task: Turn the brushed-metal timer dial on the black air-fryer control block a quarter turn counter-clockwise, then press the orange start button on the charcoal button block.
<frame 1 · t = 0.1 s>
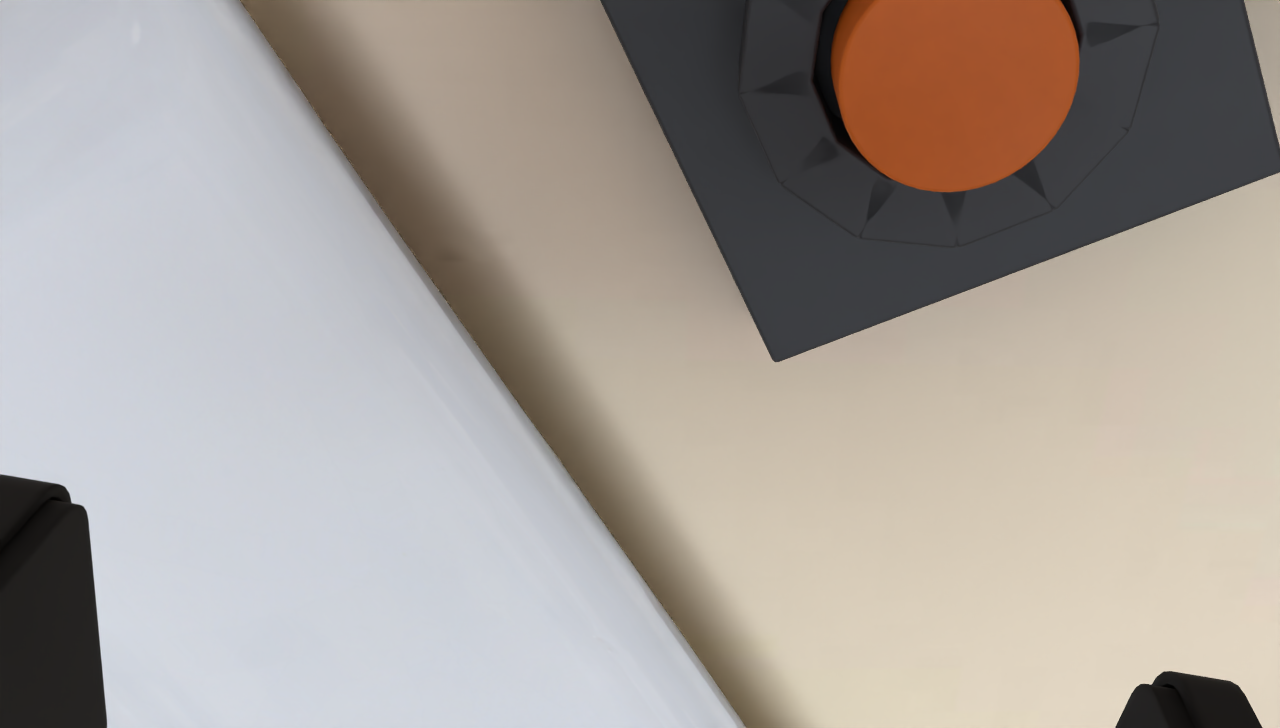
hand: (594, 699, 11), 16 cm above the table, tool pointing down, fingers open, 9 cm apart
start button: (948, 67, 19), point 4 cm above the table, slide at 0.1 cm
button block: (912, 8, 22), on the table
tray: (353, 589, 31), on the table
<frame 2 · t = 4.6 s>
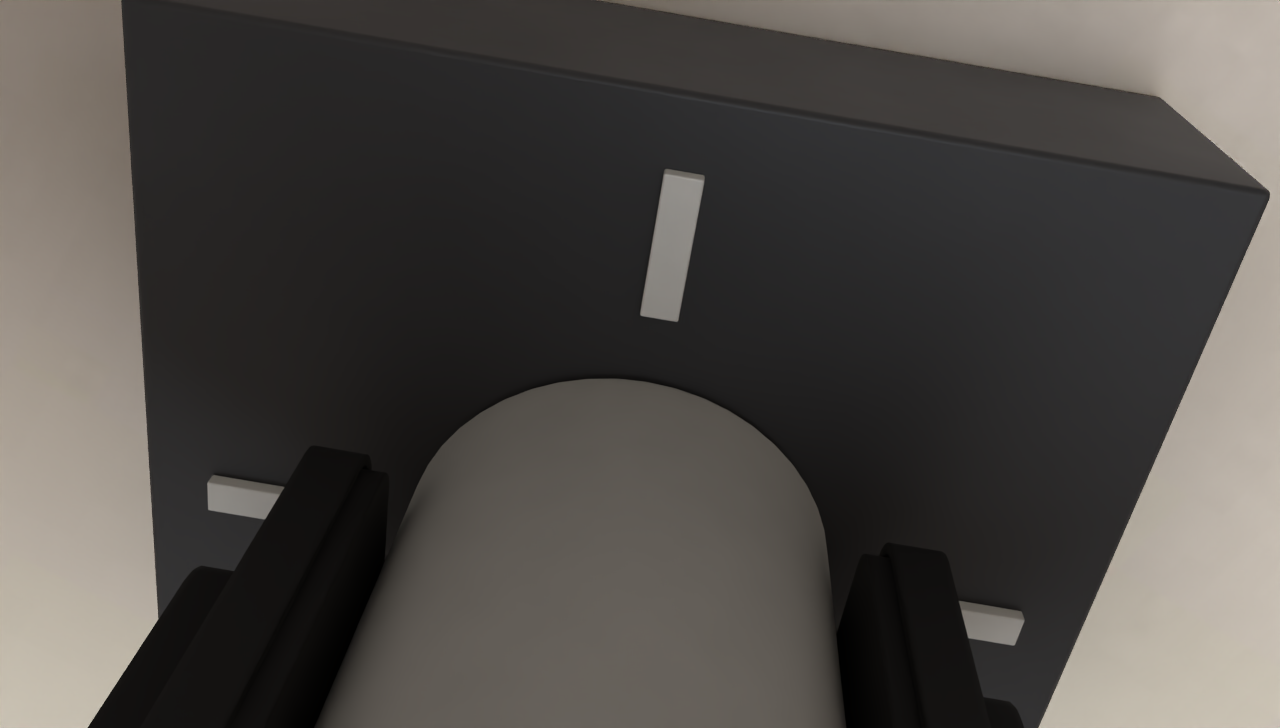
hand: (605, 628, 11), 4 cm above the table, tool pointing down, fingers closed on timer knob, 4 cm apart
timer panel: (637, 411, 15), on the table
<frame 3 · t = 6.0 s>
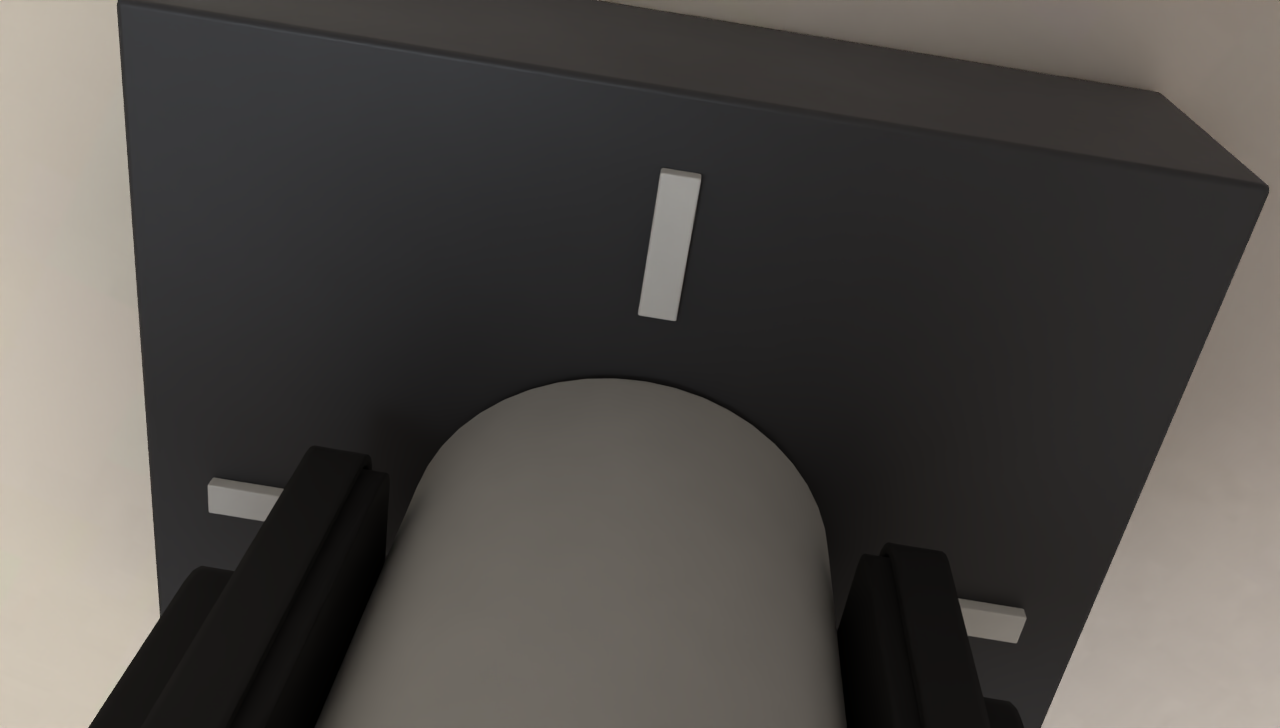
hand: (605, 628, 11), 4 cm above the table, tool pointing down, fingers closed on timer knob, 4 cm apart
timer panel: (638, 411, 15), on the table
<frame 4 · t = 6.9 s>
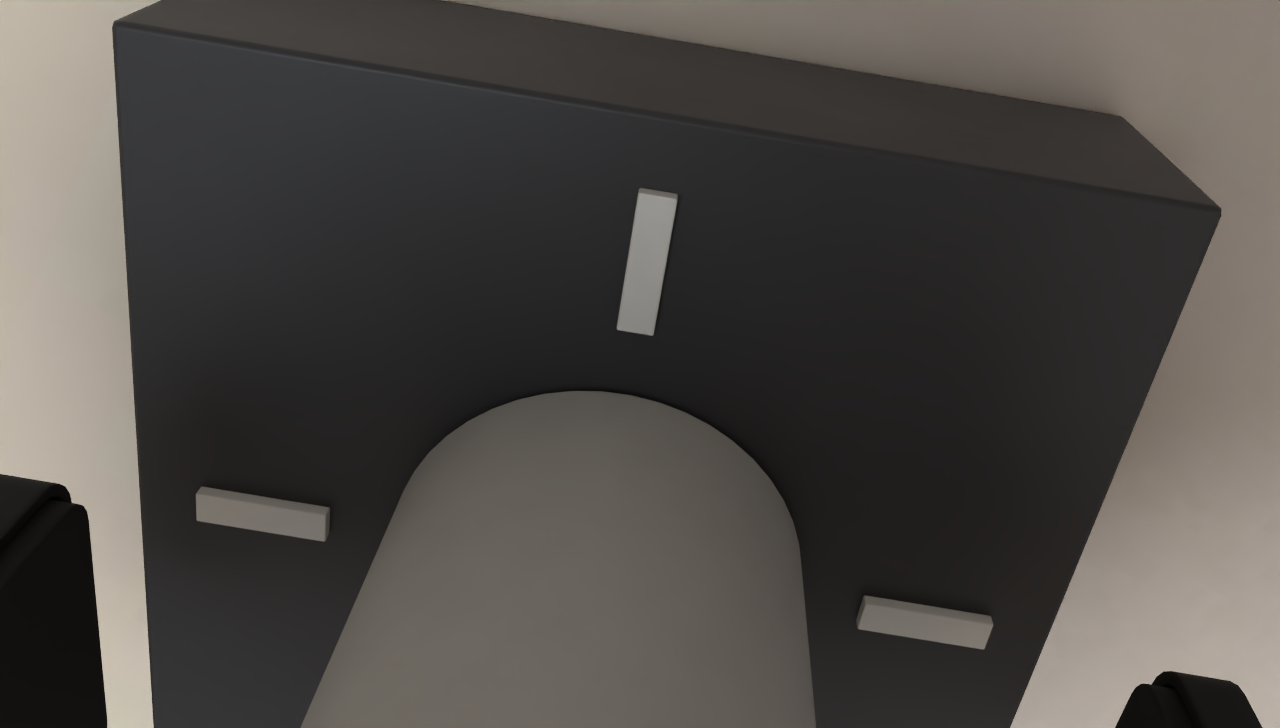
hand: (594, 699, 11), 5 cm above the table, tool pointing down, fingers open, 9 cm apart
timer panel: (618, 422, 15), on the table
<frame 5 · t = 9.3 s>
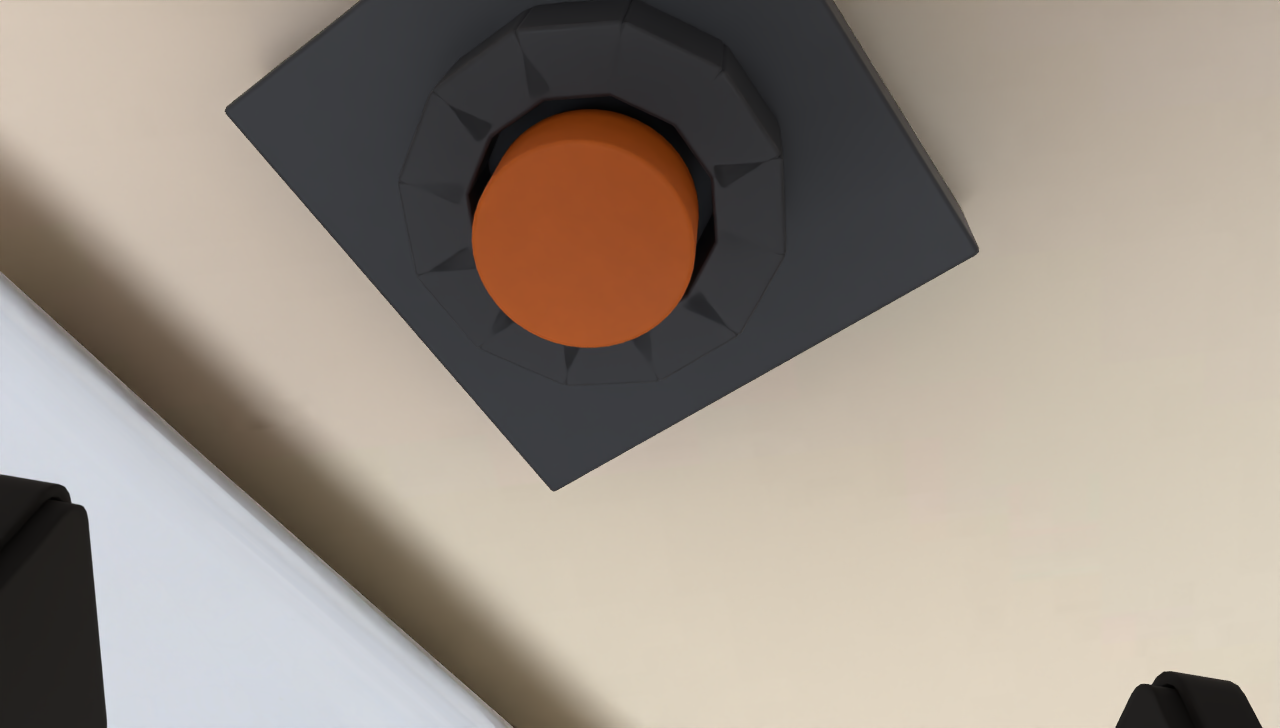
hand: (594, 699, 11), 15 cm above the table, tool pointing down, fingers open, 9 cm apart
start button: (588, 229, 19), point 4 cm above the table, slide at 0.1 cm
button block: (614, 145, 23), on the table
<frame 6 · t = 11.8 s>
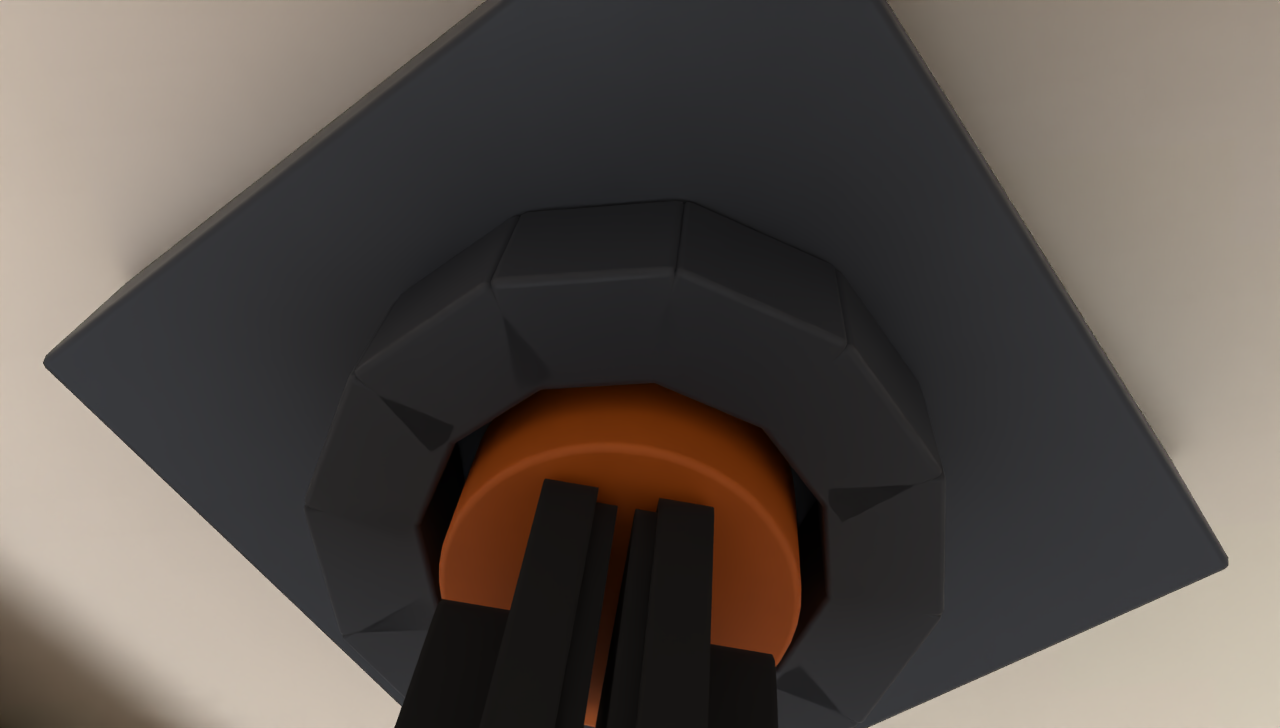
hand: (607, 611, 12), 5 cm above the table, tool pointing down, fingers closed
start button: (625, 545, 12), point 4 cm above the table, slide at -0.7 cm, touching gripper
button block: (650, 374, 16), on the table
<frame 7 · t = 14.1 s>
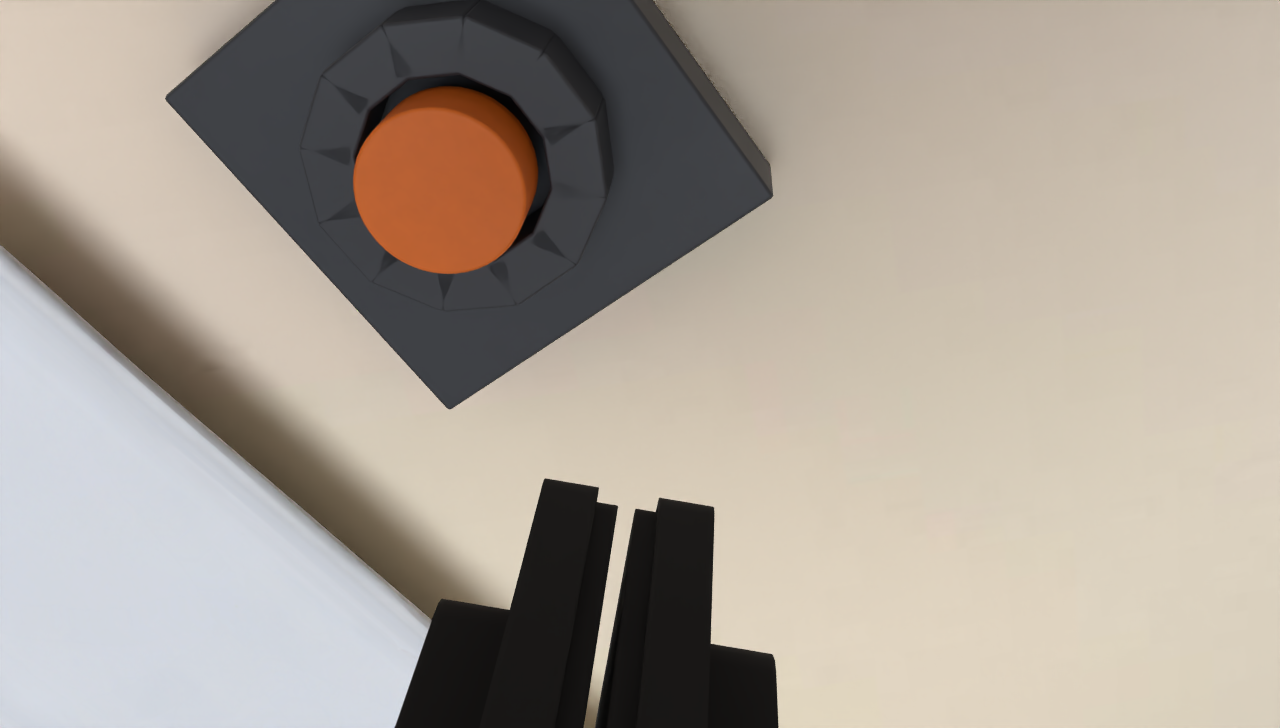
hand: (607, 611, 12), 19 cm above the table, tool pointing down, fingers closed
start button: (448, 180, 25), point 4 cm above the table, slide at 0.1 cm
button block: (486, 120, 29), on the table
tray: (222, 641, 37), on the table
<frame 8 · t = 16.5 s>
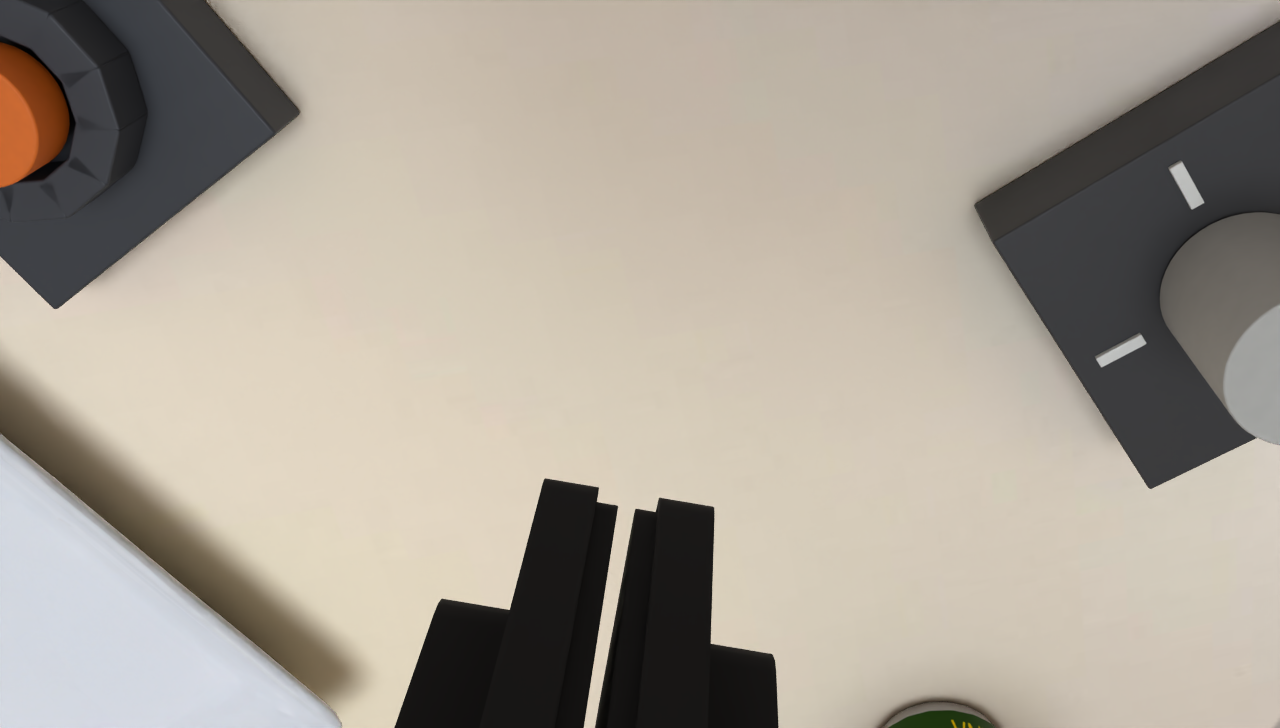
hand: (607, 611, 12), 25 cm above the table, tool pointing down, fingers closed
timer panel: (1203, 243, 35), on the table
timer knob: (1279, 327, 30), point 6 cm above the table, hinge at 88.4°
button block: (71, 72, 36), on the table
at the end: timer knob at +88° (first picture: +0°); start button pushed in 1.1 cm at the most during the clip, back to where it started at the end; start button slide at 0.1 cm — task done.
